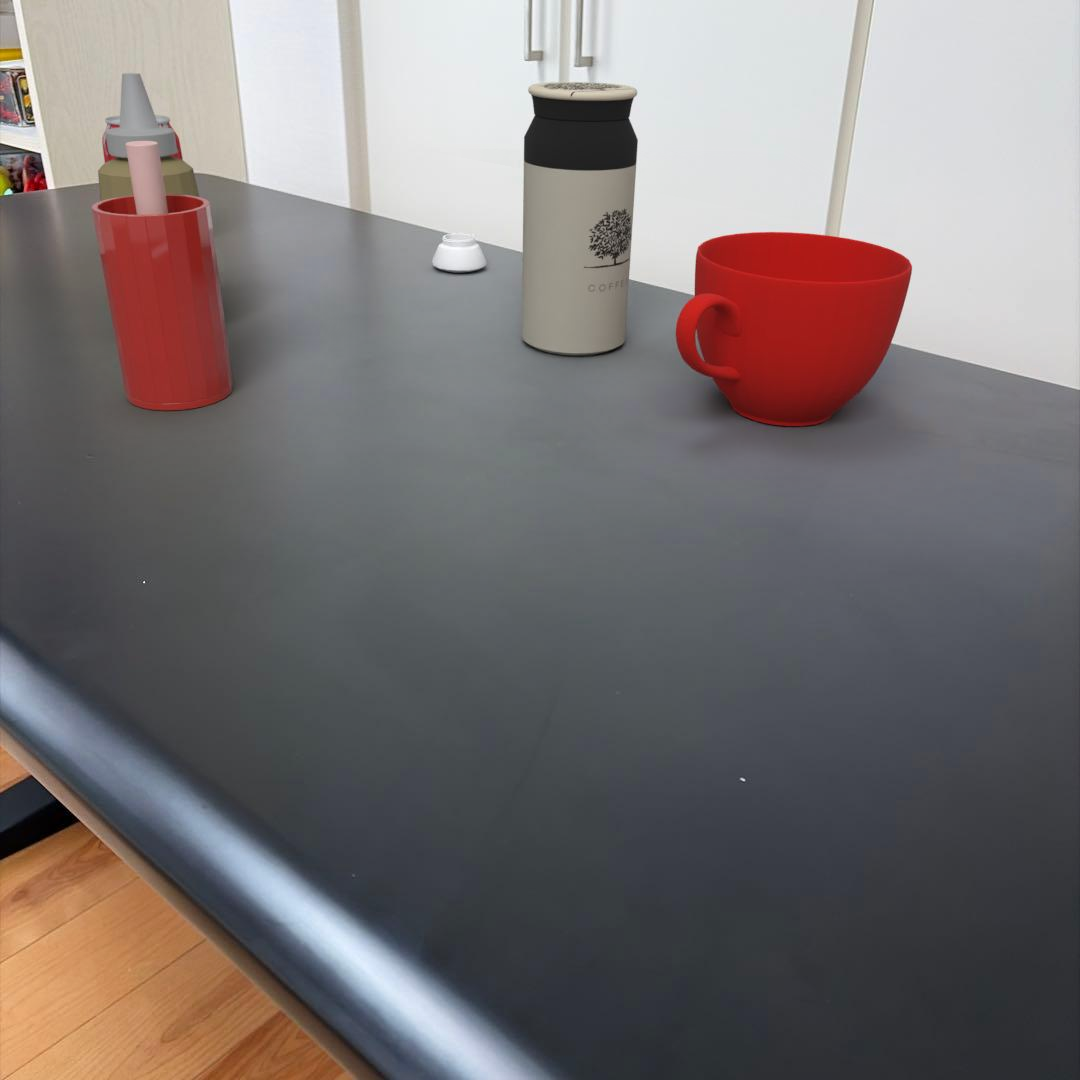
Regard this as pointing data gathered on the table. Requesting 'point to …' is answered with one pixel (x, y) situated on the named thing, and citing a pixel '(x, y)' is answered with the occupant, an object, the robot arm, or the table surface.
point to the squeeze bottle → (141, 127)
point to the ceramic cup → (791, 321)
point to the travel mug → (578, 217)
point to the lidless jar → (459, 254)
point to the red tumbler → (165, 302)
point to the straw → (146, 177)
